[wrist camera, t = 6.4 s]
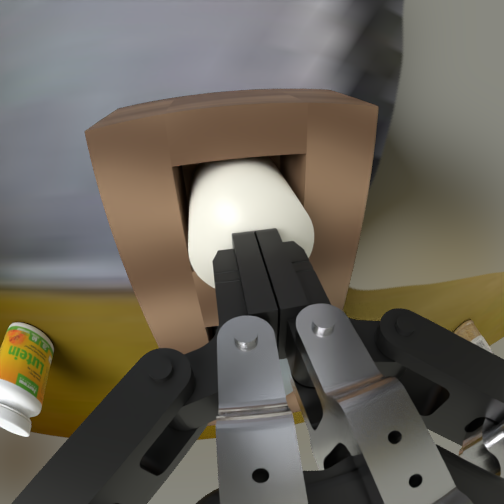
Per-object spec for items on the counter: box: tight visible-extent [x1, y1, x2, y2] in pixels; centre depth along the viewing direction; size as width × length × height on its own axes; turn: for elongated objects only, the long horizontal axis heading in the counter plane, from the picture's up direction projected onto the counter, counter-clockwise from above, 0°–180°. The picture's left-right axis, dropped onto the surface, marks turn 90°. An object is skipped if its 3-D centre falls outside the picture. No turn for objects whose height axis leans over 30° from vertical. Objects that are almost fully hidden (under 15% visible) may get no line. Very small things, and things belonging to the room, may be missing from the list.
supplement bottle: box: [0, 322, 54, 437], centre depth 17 cm, size 5×5×10 cm
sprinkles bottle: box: [454, 320, 494, 354], centre depth 30 cm, size 5×5×14 cm
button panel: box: [85, 89, 378, 426], centre depth 19 cm, size 27×11×5 cm, turn 2°
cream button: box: [188, 156, 314, 288], centre depth 12 cm, size 4×4×5 cm
